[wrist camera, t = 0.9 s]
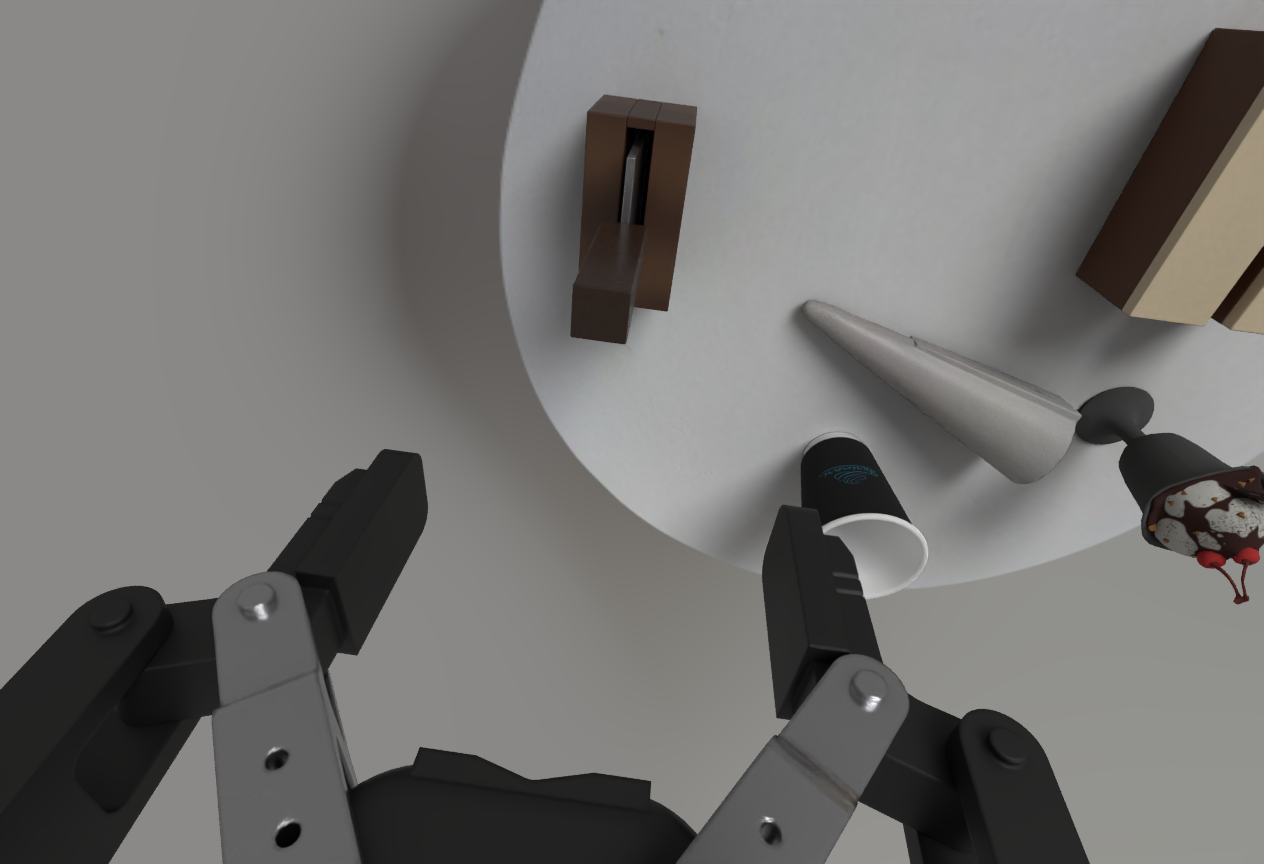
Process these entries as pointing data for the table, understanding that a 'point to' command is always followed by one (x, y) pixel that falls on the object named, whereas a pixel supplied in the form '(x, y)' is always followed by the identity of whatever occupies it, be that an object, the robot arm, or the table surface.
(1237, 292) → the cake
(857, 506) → the dixie cup
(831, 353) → the table surface
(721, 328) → the table surface
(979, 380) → the long tapered cone
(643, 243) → the knife
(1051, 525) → the table surface
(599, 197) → the knife stand
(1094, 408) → the sundae
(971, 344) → the table surface
